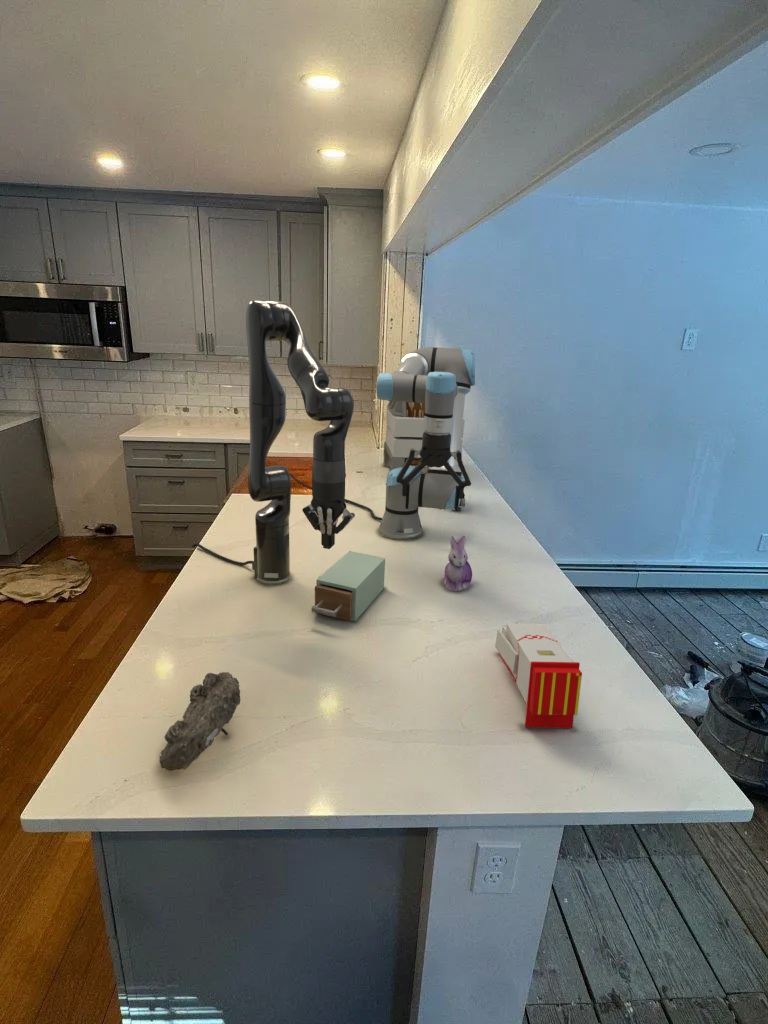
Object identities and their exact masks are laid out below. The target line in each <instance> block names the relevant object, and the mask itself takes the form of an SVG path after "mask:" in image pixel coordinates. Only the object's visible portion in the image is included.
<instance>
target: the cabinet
mask: <svg viewBox="0 0 768 1024" xmlns="http://www.w3.org/2000/svg"><path fill="white" fill-rule="evenodd" d="M385 574H386V557H382V556H377V555H372V554H368V553H362V552H358V551H352V550H349V551H347V552H346V553H345V554H343V556H341V558H340V559H338V560H337V561H336V562H335V563H334V564H333V565H331V566H330V567H329V568H328V569H327V570H325V572H324V573H322V574H321V575H320V576H319V577H317V578H316V585H320V586H323V584H324V585H328V586H333V587H337V588H342V589H346V590H350V591H352V619H351V620H350V622H356V621H357V620H358V619H359V618H360V616H361V615H362V614H363V613H364V612H365V611H366V609H368V607H369V606H370V605H371V604H372V602H373V601H374V600H375V599H376V598H377V597H378V596H379V594H380V593H381V592H382V591H383V590H384V589H385V577H386V576H385Z"/></svg>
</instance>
